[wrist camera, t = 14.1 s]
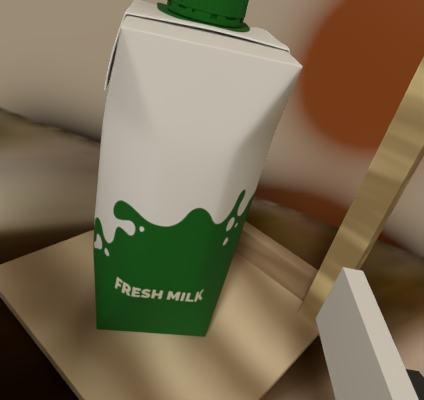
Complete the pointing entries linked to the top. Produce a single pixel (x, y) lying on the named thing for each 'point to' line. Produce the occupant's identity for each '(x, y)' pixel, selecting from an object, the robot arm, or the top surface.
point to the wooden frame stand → (227, 303)
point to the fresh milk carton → (181, 159)
